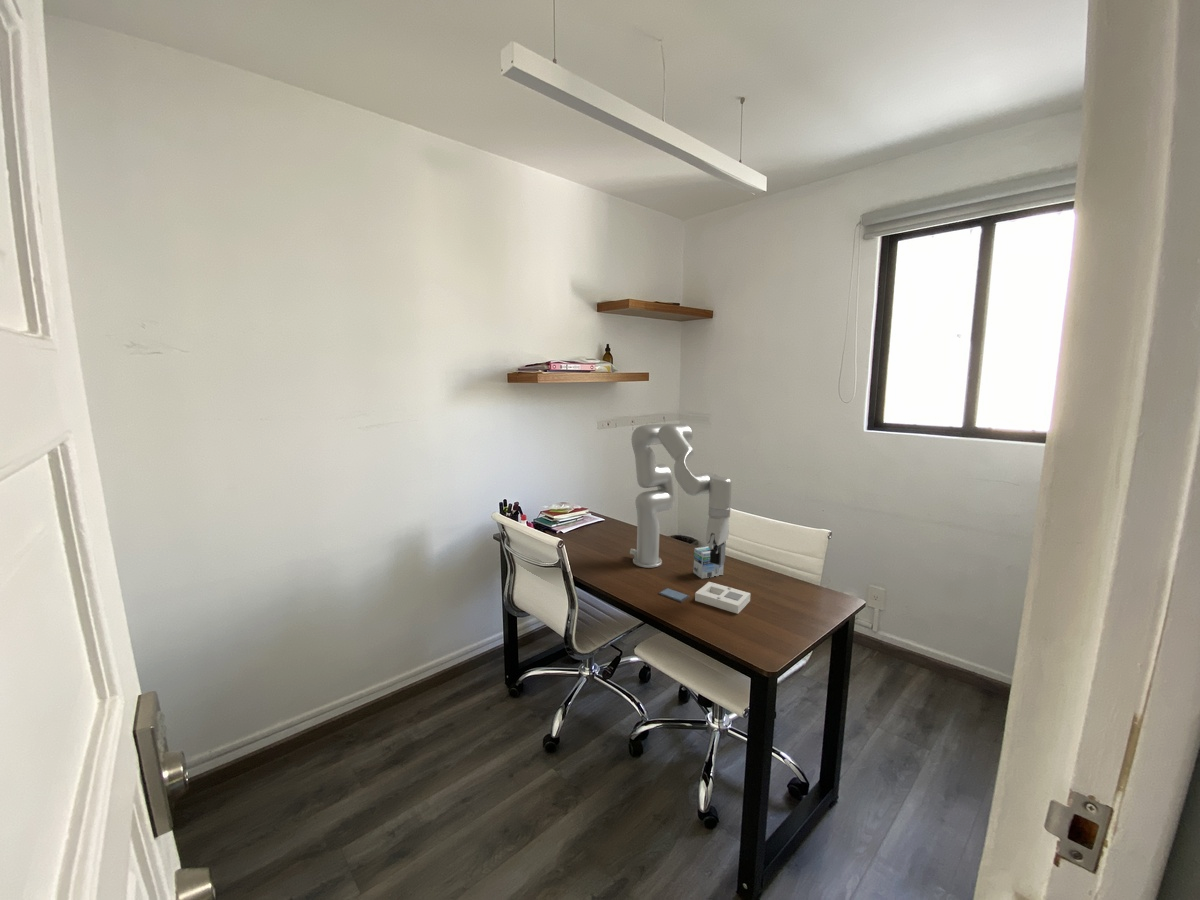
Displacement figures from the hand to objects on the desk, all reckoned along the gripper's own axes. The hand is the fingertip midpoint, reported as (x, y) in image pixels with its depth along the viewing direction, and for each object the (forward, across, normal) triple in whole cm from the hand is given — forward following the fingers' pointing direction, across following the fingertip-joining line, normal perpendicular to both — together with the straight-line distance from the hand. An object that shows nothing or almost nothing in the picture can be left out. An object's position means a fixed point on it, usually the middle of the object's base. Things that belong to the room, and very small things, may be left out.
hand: (717, 560), depth 172 cm
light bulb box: (+15, -19, -12) cm, 27 cm away
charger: (+1, 0, 0) cm, 1 cm away
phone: (+15, +7, -14) cm, 21 cm away
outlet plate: (+15, 0, +2) cm, 15 cm away
